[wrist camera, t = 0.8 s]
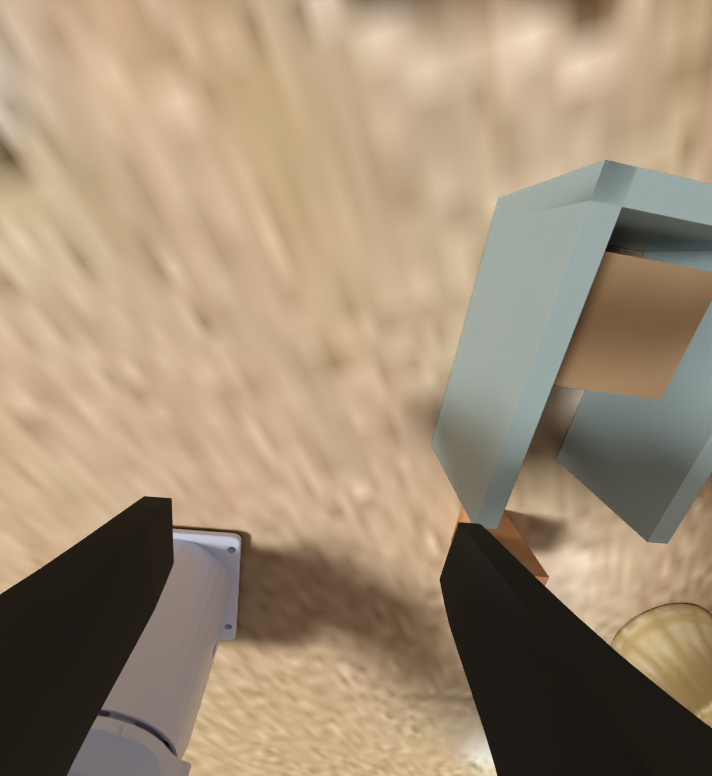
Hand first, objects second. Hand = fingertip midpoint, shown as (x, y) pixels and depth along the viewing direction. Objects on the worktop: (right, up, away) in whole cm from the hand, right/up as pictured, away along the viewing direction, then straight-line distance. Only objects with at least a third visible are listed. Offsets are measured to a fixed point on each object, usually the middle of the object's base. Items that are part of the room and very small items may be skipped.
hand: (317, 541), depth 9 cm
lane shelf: (+11, +6, +10) cm, 16 cm away
